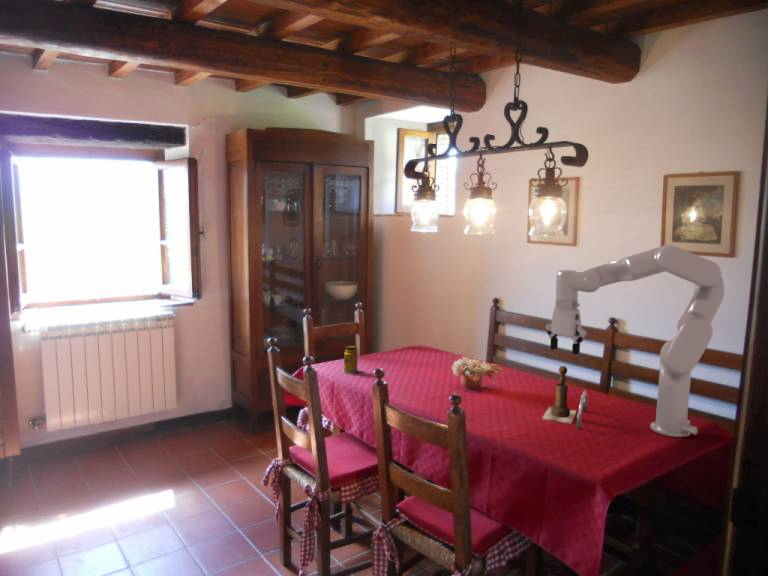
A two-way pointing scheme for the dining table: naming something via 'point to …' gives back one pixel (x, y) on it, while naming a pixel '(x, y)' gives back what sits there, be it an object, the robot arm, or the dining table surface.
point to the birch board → (559, 419)
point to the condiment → (350, 360)
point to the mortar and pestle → (561, 396)
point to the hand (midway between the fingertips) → (564, 351)
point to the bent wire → (581, 408)
